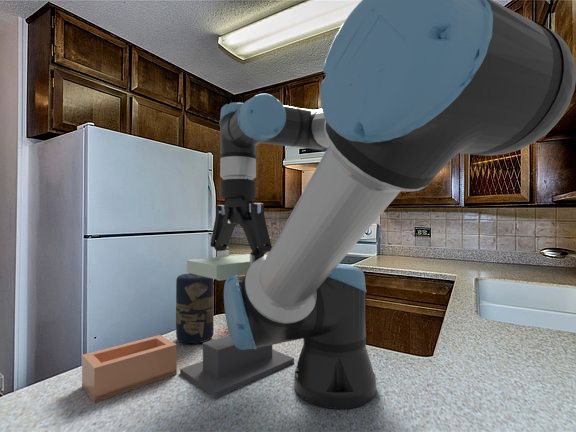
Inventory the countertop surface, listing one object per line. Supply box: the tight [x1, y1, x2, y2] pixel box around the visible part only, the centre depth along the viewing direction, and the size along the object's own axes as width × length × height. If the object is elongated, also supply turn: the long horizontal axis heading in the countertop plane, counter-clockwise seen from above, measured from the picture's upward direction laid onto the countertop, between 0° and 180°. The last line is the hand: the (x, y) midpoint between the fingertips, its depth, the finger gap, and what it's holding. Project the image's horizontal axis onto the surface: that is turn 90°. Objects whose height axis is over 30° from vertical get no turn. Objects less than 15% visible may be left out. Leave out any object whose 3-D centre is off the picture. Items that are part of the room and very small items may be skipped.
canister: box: [175, 273, 215, 344], centre depth 87 cm, size 10×10×18 cm
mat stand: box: [179, 334, 295, 399], centre depth 70 cm, size 13×20×6 cm, turn 135°
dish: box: [81, 334, 178, 404], centre depth 65 cm, size 8×15×6 cm, turn 135°
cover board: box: [186, 253, 268, 280], centre depth 70 cm, size 11×18×2 cm, turn 135°
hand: (238, 283), depth 70 cm, fingers closed on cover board, 11 cm apart
